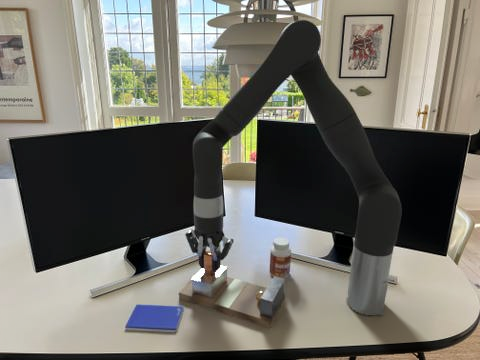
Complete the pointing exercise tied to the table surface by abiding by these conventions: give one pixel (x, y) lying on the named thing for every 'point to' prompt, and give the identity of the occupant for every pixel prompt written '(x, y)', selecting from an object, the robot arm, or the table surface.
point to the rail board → (233, 300)
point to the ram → (209, 277)
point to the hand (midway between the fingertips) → (209, 268)
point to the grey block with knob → (271, 297)
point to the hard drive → (155, 318)
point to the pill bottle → (280, 258)
